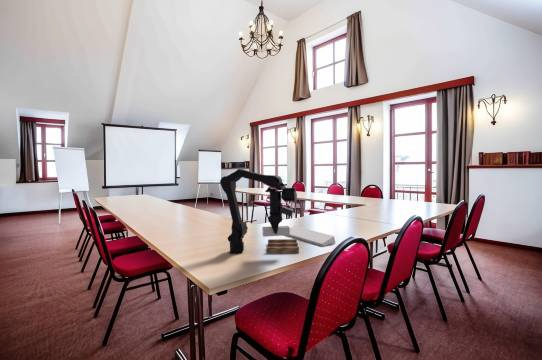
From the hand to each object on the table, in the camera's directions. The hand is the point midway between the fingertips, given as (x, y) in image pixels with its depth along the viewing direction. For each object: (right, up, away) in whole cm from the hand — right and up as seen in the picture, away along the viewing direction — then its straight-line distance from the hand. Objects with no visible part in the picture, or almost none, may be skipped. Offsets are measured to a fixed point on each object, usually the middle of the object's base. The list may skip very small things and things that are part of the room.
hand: (275, 232), depth 134 cm
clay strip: (0, -1, 0) cm, 1 cm away
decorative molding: (+20, -10, +30) cm, 37 cm away
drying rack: (+4, -11, +11) cm, 16 cm away
